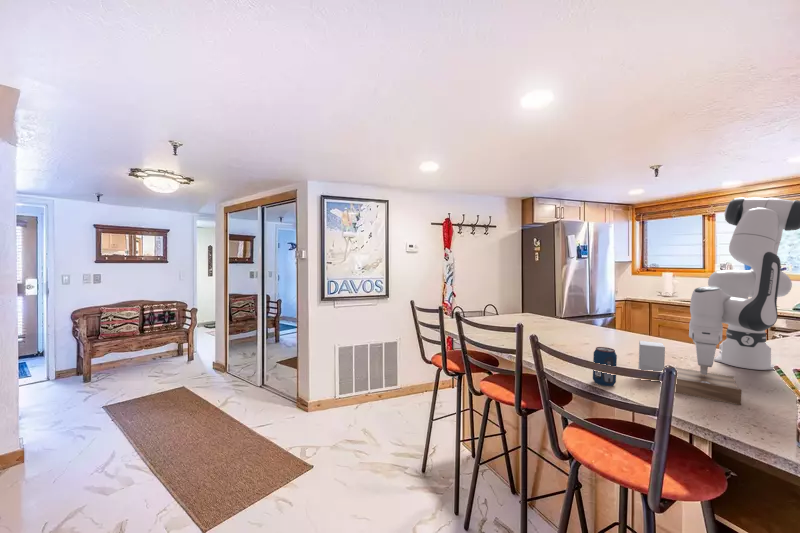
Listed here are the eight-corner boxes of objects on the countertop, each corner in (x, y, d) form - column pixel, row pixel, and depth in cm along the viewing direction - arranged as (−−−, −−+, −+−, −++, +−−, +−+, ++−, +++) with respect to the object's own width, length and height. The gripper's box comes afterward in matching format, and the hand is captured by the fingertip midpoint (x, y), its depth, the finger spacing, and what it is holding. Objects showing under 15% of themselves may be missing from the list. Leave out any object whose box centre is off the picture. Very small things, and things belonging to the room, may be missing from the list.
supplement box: (662, 377, 134) (663, 342, 133) (664, 383, 127) (665, 346, 127) (637, 373, 138) (639, 340, 137) (638, 379, 131) (639, 344, 131)
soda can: (601, 379, 130) (602, 345, 130) (620, 385, 124) (621, 350, 124) (588, 381, 127) (589, 347, 127) (606, 388, 121) (608, 352, 121)
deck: (675, 374, 138) (676, 362, 138) (733, 383, 128) (733, 370, 128) (673, 392, 119) (674, 378, 119) (740, 405, 109) (741, 390, 109)
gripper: (693, 327, 136) (691, 364, 137) (693, 337, 120) (691, 379, 121) (715, 330, 133) (714, 368, 133) (719, 340, 116) (717, 383, 117)
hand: (703, 373), depth 127 cm, fingers closed
